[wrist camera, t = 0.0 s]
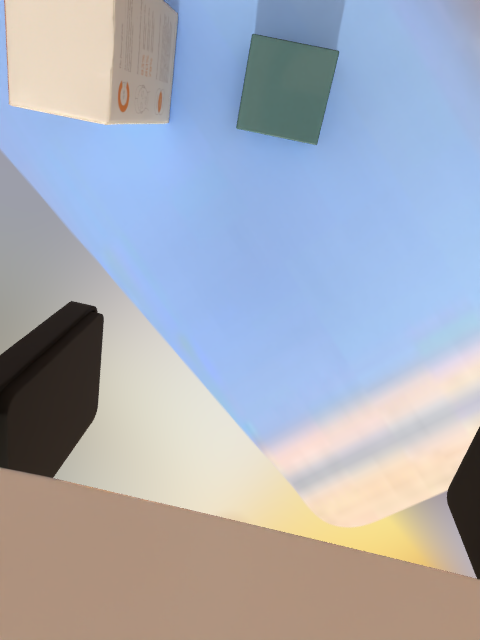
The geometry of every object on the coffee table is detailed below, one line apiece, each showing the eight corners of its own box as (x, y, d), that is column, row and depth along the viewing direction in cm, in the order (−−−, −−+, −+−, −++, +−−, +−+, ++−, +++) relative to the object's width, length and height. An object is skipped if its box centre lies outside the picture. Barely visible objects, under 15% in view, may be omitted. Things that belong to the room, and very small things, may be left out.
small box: (100, -2, 35) (-2, -67, 23) (179, 12, 35) (118, -46, 23) (96, 112, 38) (6, 106, 26) (169, 125, 38) (110, 125, 26)
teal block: (258, 45, 35) (252, 33, 30) (334, 60, 35) (339, 50, 30) (243, 128, 37) (236, 128, 33) (314, 142, 37) (316, 145, 33)
